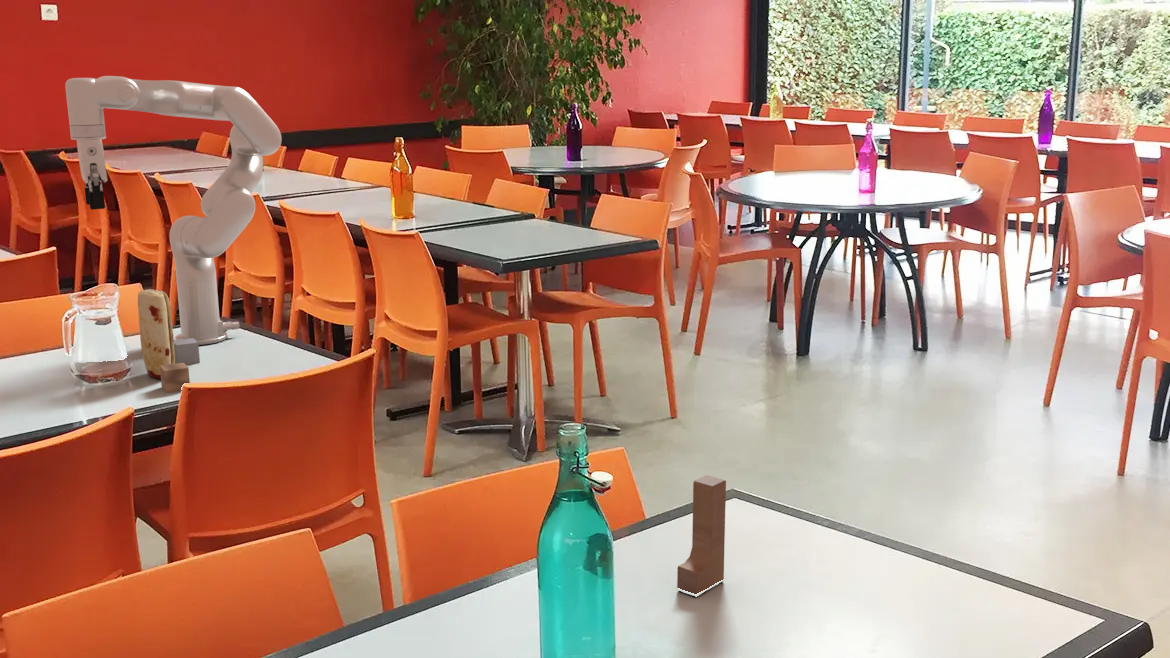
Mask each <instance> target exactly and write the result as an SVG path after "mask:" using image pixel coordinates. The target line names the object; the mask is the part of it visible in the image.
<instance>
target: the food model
mask: <svg viewBox="0 0 1170 658" xmlns="http://www.w3.org/2000/svg"><path fill="white" fill-rule="evenodd" d="M137 293H138V294H137V308H138V309H137V310H138V322H139V337H140V346H141V354H142V358H143V362H144V367H145V370H146V372H147V374H148V375H149V376H150V377H152V378H153V379H160V380H161V374H160V366H161V365H169V364H176V363H175V354H174V340H175V338H174V329H173V318H172V310H171V302H170V299H169V297H168V295H167V294H168V293H166V292H165V291H163V290H156V289H153V288H148V289H144V290H140V291H139V292H137Z"/></svg>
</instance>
